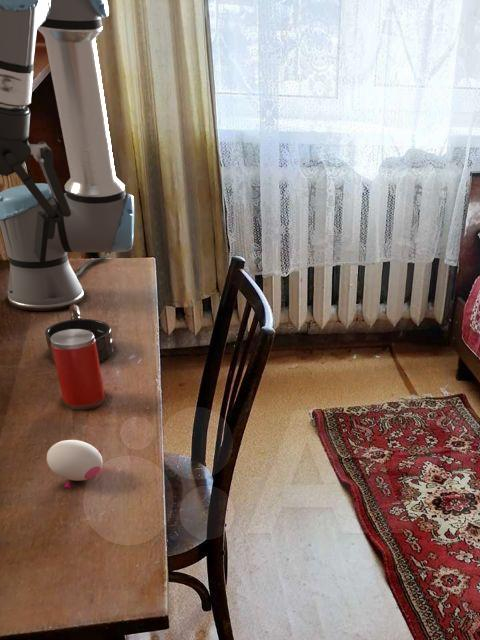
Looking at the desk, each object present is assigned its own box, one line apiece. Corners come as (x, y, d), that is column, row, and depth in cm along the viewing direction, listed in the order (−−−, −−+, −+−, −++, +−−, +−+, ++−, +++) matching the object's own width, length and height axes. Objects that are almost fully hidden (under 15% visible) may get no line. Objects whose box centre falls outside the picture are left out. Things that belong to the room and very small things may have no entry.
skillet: (69, 337, 131) (65, 315, 129) (124, 344, 130) (120, 323, 128) (37, 361, 122) (32, 338, 119) (96, 369, 121) (91, 346, 118)
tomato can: (76, 389, 114) (63, 326, 108) (112, 394, 114) (101, 331, 107) (56, 407, 109) (41, 342, 102) (93, 412, 108) (81, 347, 102)
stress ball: (111, 492, 97) (120, 447, 97) (83, 493, 89) (93, 444, 89) (64, 481, 98) (72, 437, 97) (31, 481, 90) (40, 433, 89)
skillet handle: (83, 326, 129) (81, 317, 128) (72, 327, 128) (70, 318, 127) (80, 311, 135) (78, 302, 134) (69, 312, 134) (67, 303, 133)
